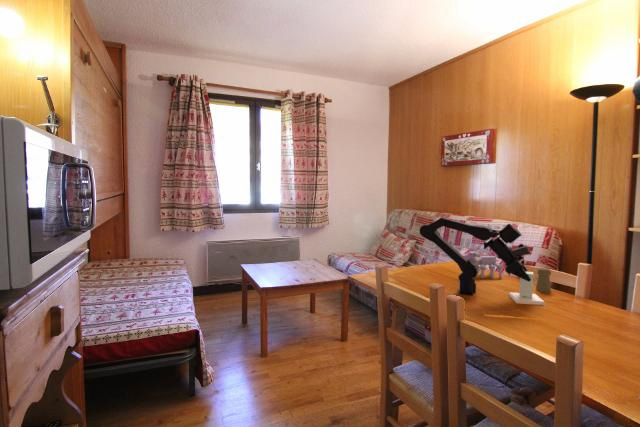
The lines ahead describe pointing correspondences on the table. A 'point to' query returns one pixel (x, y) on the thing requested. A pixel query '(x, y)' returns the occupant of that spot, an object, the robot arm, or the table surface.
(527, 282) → the block
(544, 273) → the olive green vase
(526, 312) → the table surface
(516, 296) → the tower top
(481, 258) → the toy sheep
